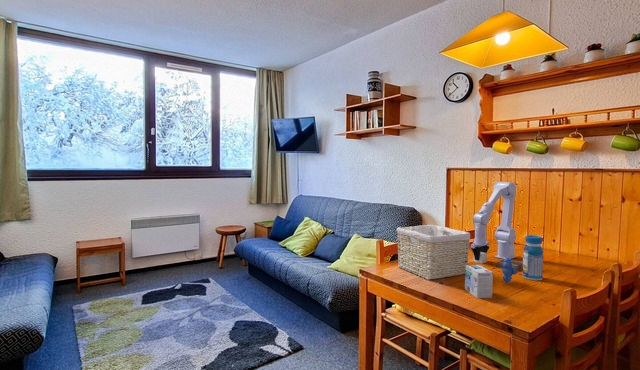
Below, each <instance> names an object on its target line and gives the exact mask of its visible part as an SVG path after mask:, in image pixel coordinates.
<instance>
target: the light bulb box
mask: <svg viewBox="0 0 640 370" xmlns="http://www.w3.org/2000/svg"><path fill="white" fill-rule="evenodd" d="M493 274H494V271H492V270H490V269H487V268H486V267H484V266H482V265H480V264H472V265H471V264H469V265H466V268H465V274H464V275H465V276H464V279H465V280H464V290H466V291H467V292H468V294H469V293H470V294H471V295H472V296H473V297H475V298H476V299H490V298H491V299H493V282H494V281H493V279H494V278H493V277H494V275H493Z"/></svg>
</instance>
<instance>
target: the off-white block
mask: <svg viewBox="0 0 640 370" xmlns="http://www.w3.org/2000/svg"><path fill="white" fill-rule="evenodd" d="M472 254H473V253H472ZM473 261H474V262H473ZM472 262H473V263H478V264H485V263H487V262H488V252H487V253H484V252H481V253H480V259H479V260H475V258H474V254H473V255H472Z"/></svg>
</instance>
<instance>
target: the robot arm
mask: <svg viewBox="0 0 640 370" xmlns="http://www.w3.org/2000/svg"><path fill="white" fill-rule="evenodd" d="M492 187H493V188H492V189H493V191H492V193H491V195H490V196H489V199H488V201H487V202H484V203H483V204H482V206H481V208H480V209H479V211H478V212H476V213H475V214H474V215H473V217H472V221H473V225H474V241H473V242H472V244H470V249H471V251H472V254H474V258H475V260H479V259H480V253H481V252H484V253H487V254H488V251H489V249H490V246H489V245H490V241H488V240H487V225H488V224H489V222H490V218H491V214H492V213H493V211H494V210H495V204H496V203H497V202H498V201H499V199H500V198H501V197H502V198H503V204H502V214H501V220H500V221H501V222H500V225H498V226H497V227H496V231H495V232H494V239H495V240H496V242H497V255H494V256H493V257H495V258H498V259H502V260H504V259H506V258H509V259H511V260H513V259H514V258H517V256H515V253H516V252H515V251H516V250H515V248H516V246H515V244H514V242H515V241H516V238H517V236H516V230H515V228H513V227H512V223H513V215H514V207H515V197H516V193H517V185H516V184H515V183H514V182H513V181H510V182H509V181H498V180H497V181H496V182H495V183H494V185H493V186H492Z"/></svg>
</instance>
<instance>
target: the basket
mask: <svg viewBox="0 0 640 370" xmlns="http://www.w3.org/2000/svg"><path fill="white" fill-rule="evenodd" d="M396 233H397V259H398V264H397V265H398V269H402V270H405V271H407V272H410V273H412V274H414V275H416V276H419V277H422V278H423V279H426V280H427V281H429V280H436V279H444V278H447V277H448V278H450V277H454V276H455V277H456V276H462V275H465V268H466V265H468V264H469V253H470V240H471V233H470V232H469V231H464V230H458V229H453V228H450V227H447V226H441V225H437V224H436V225H435V224H427V225H425V224H423V225H421V224H420V225H415V226H406V227H404V226H403V227H400V226H399V227H397V228H396Z"/></svg>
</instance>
